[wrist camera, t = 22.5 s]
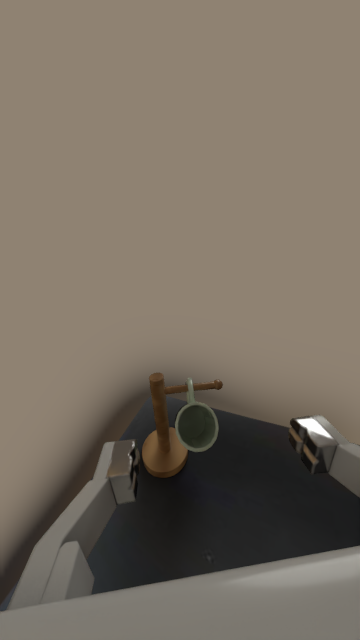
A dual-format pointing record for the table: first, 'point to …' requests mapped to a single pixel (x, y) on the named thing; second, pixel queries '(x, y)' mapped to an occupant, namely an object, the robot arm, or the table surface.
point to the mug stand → (166, 430)
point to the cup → (196, 423)
